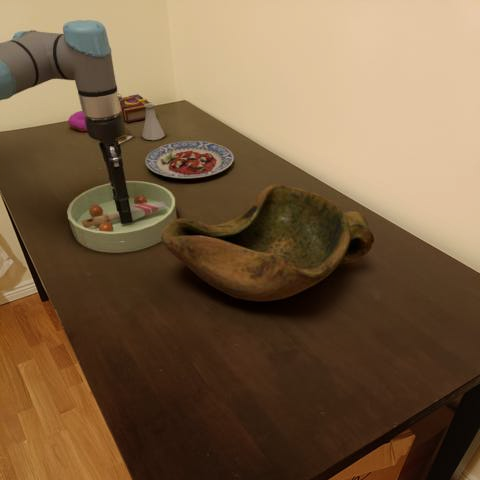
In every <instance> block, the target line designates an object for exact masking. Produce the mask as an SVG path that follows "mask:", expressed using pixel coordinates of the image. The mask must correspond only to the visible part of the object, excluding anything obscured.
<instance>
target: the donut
mask: <svg viewBox="0 0 480 480" xmlns="http://www.w3.org/2000/svg"><path fill="white" fill-rule="evenodd" d="M85 117H86V116H85V115H83V112H82V110H79V111H77V112H74V113H73V114H71V115H70V116H69V118H68V121H67V124H68V125H69V126H70V128H71V129H73V130H76V131H79V132H83V133H85V132H88V131H87V127H86V123H85Z"/></svg>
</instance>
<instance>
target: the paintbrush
mask: <svg viewBox="0 0 480 480" xmlns="http://www.w3.org/2000/svg"><path fill="white" fill-rule="evenodd" d="M129 205H130V209H131V214H132V219H133V220H135V219H138V218H140V217H142V216H145V215H147V214H150V213H152V212H154V211H157V210H159V209H162V208H164V207H166V204H165V203H164V201H161V202H149V203H137V204H129ZM118 219H120V216H119V212H114V213H110V214H106V215H102V216H98V217H94V218H91V219H86V220H82V221H81V222H82V225H83V227H85V228H88V227H90V226H95V225H99V224H102V223H104V222H110V221H114V220H118Z"/></svg>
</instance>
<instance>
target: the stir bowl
mask: <svg viewBox="0 0 480 480" xmlns="http://www.w3.org/2000/svg"><path fill="white" fill-rule="evenodd" d="M125 181H126V186H127V191H128V195H129V199H128V200H129V204H135V203H134V199H135V197H136V196H137V195H143V196H145V197H146V199H147V203H149V202H161V201H164V203H165V204H166V207H164V208H162V209H159V210H157V211H154V212H152V213H150V214H147V215H145V216H142V217H140V218H138V219H135V220H133V222H131V223H126V224H121V221H120V219H118V220H114V221H110V222H108V223H110V224H111V225H112V226H113V229H114V231H113V232H107V231H99V226H100V224H99V225H95V226H90V227H88V228H85V227H83V225H82V222H81V221H82V220H86V219H91V218H93V217H92V216H91V215H90V213H89V209H90V207H91V206H92V205H99V206H100V207H101V208H102V209H103V215H106V214H110V213H114V212H117V209H116V204H115V200H113V197H114V195H113V191H112V189H113V188H114V187H112V186H111V182H109V183H105V184H100V185H97V186H94V187H92V188H90V189H88V190H85V191H83V192H82V193H80V194H79V195H77V196H76V197H75V198H74V199H73V200H72V201H71V202H70V203H69V206H68V208H67V210H66V215H67V218H68V221H69V225H70V228H71V231H72V235H73V236H74V239H75V240H76V241H77V242H78V243H79V244H81V245H82V246H83V247H85V248H87V249H89V250H93V251H96V252H101V253H111V254H113V253H114V254H117V253H120V254H123V253H130V252H137V251H140V250H144V249H147V248H150V247H152V246H155V245H157V244H159V243H161V242H162V239H161V237H162V232H163V230H164V229H165V227H166V226H167V225H168V224H169V223H170V222H172V221H174V220H176V219H178V214H177V213H178V212H177V203H176V198H175V196H174V194H173V192H172V191H170V190H169V189H167V188H166V187H164V186H161V185H159V184H156V183H153V182H148V181H142V180H140V181H139V180H125Z"/></svg>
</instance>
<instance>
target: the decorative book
mask: <svg viewBox="0 0 480 480" xmlns="http://www.w3.org/2000/svg"><path fill="white" fill-rule="evenodd" d="M119 102H120V106H121V109H122V112H123V118H124V122H126V123H131V122H136V121H142V120H145V119H146V109H145V107H144V105H145V104H148V103H151V104H153V103H152V102H151V101H148V99H147V98H144V97H143V96H142V95H140V94H139V93H138V94H132V95H128V96H125V97H122V99H121V100H119Z"/></svg>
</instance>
